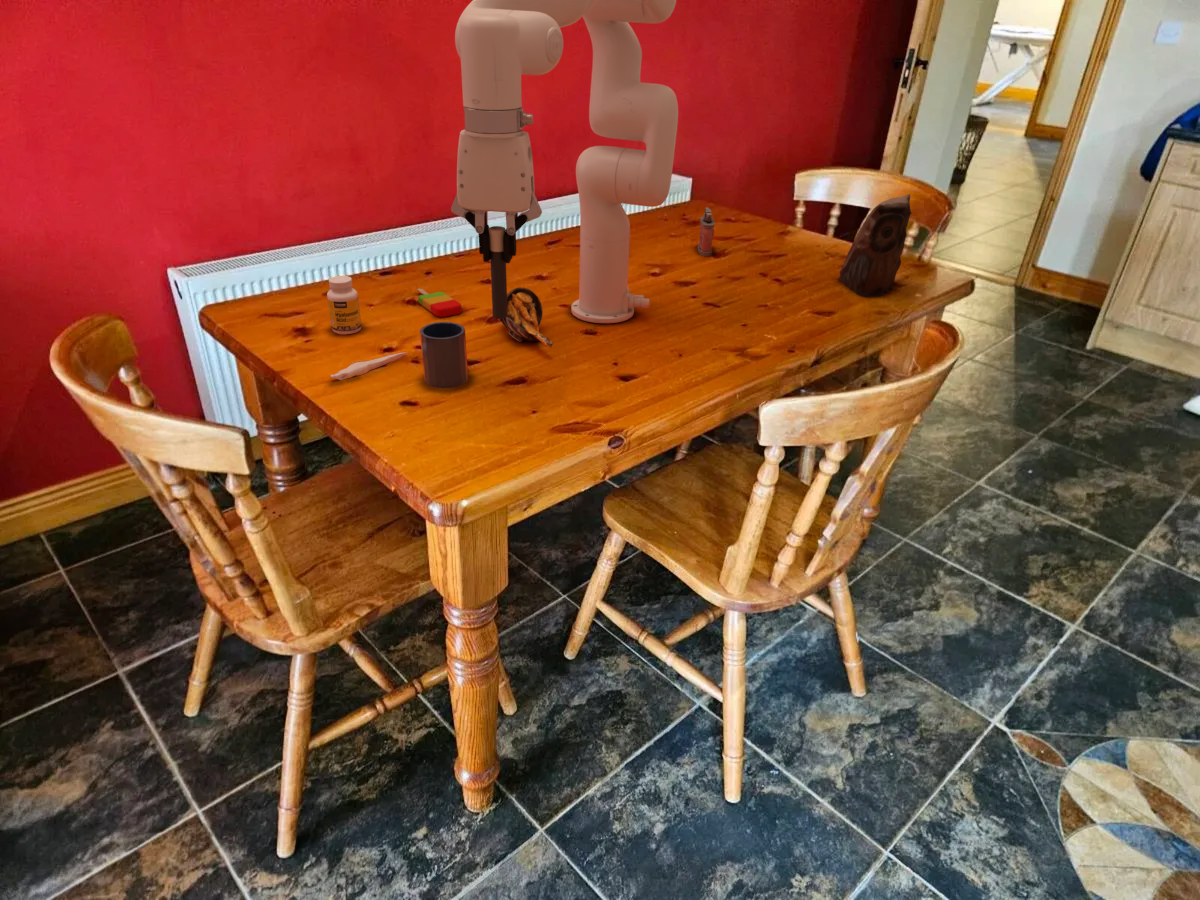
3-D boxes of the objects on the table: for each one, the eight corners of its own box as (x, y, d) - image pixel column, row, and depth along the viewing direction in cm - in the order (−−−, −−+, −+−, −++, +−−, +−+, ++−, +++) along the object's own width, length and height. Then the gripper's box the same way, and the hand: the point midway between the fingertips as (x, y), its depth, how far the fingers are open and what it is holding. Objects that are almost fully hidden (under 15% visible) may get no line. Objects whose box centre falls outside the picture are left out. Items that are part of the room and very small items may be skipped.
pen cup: (471, 372, 134) (468, 322, 129) (463, 391, 128) (459, 339, 123) (430, 370, 134) (426, 320, 129) (420, 389, 128) (415, 337, 123)
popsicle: (438, 318, 153) (438, 309, 153) (406, 295, 164) (406, 287, 163) (464, 313, 156) (463, 304, 155) (431, 291, 167) (430, 282, 166)
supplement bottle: (335, 337, 145) (327, 285, 139) (329, 326, 149) (321, 276, 144) (365, 332, 147) (358, 281, 142) (358, 322, 151) (351, 272, 146)
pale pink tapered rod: (336, 387, 128) (335, 376, 127) (327, 381, 129) (325, 371, 128) (412, 359, 137) (411, 349, 136) (403, 354, 139) (401, 345, 138)
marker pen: (509, 313, 118) (506, 226, 111) (506, 319, 116) (503, 231, 109) (494, 312, 118) (490, 225, 111) (491, 318, 116) (487, 230, 109)
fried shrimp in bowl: (528, 294, 153) (585, 290, 139) (521, 350, 154) (576, 352, 140) (488, 283, 148) (542, 279, 134) (480, 342, 148) (533, 343, 134)
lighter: (713, 255, 193) (717, 214, 188) (699, 255, 193) (703, 214, 188) (709, 246, 200) (713, 206, 195) (696, 245, 200) (700, 205, 195)
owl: (892, 280, 181) (913, 191, 171) (907, 300, 170) (930, 206, 160) (837, 278, 182) (854, 188, 171) (848, 297, 171) (867, 203, 160)
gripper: (557, 119, 106) (557, 254, 115) (439, 114, 107) (449, 249, 116) (550, 129, 100) (550, 271, 109) (425, 123, 100) (436, 265, 110)
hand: (498, 258), depth 113 cm, fingers closed on marker pen, 2 cm apart
